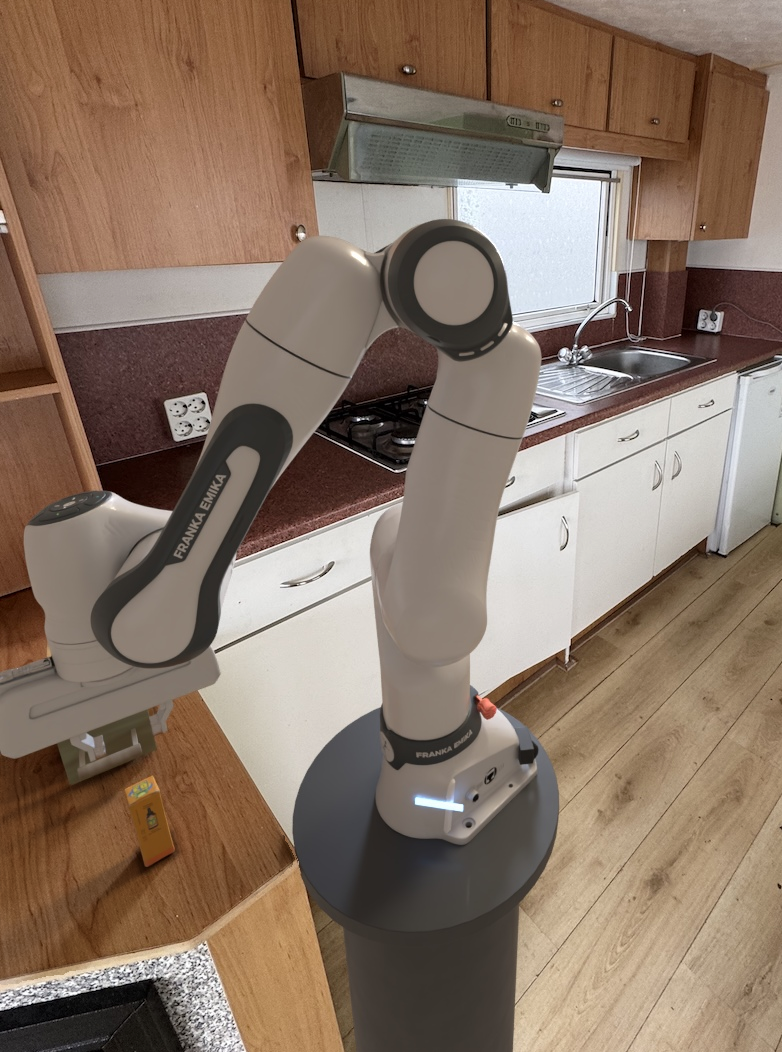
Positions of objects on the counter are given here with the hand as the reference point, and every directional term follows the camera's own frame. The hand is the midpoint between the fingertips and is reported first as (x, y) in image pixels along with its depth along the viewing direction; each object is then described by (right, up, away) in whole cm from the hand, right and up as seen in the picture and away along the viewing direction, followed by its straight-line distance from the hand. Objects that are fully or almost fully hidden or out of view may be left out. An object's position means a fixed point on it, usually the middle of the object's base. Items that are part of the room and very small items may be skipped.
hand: (129, 742), depth 65 cm
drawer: (-15, -10, +19) cm, 26 cm away
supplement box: (0, -16, +6) cm, 17 cm away
